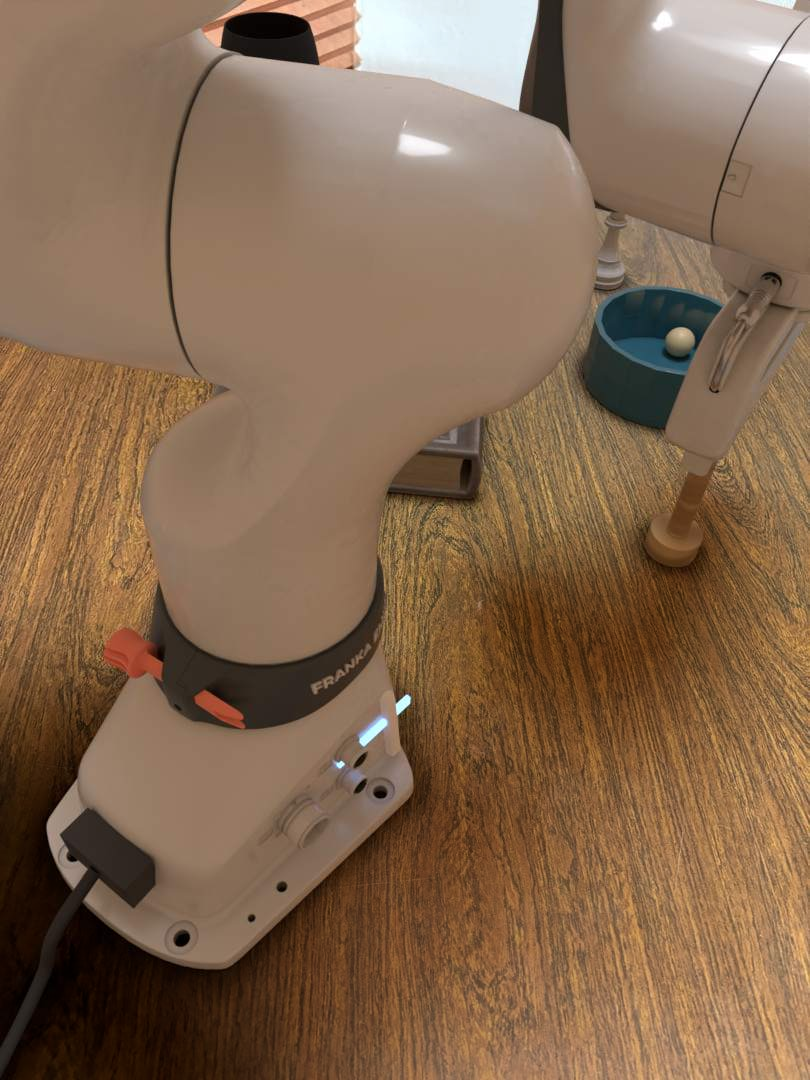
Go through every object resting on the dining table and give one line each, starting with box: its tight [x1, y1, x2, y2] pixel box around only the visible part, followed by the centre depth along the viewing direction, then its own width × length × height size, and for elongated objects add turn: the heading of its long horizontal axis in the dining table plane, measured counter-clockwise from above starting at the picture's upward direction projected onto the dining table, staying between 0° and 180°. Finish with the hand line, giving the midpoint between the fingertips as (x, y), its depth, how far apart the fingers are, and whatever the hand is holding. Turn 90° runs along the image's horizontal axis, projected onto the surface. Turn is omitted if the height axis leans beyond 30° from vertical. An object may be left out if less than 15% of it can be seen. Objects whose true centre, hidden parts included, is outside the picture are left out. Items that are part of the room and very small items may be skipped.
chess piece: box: [594, 212, 628, 291], centre depth 91 cm, size 4×4×10 cm
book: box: [210, 384, 485, 500], centre depth 79 cm, size 30×22×5 cm
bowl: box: [582, 285, 725, 430], centre depth 80 cm, size 14×14×6 cm
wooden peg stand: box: [644, 461, 719, 568], centre depth 61 cm, size 4×4×17 cm
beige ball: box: [665, 327, 695, 357], centre depth 83 cm, size 3×3×3 cm
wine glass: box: [220, 11, 321, 66], centre depth 94 cm, size 10×10×20 cm
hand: (720, 428), depth 58 cm, fingers open, 8 cm apart
